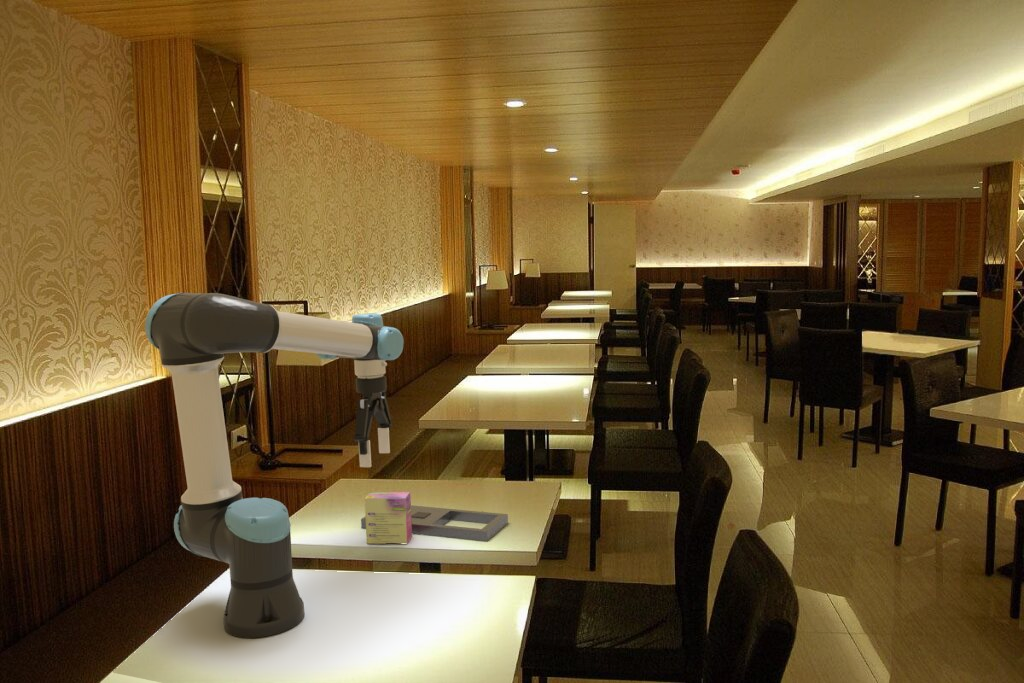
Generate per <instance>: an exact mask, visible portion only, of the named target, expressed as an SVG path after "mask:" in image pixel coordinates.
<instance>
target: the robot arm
mask: <svg viewBox="0 0 1024 683" xmlns="http://www.w3.org/2000/svg"><path fill="white" fill-rule="evenodd" d="M144 322H145V324H144V331H145V334H146V337H147V340H148V342H149V343H150V344H151V345H152V346H153V347H154V348H156V349H158V351H159V356H160V361H161V366H162V368H164V369H166V370H167V371H169V372H170V374H171V377H172V378H171V379H172V386H173V393H174V400H175V407H176V408H175V409H176V413H177V414H176V416H177V423H178V430H179V435H180V437H179V438H180V444H181V450H182V457H183V458H182V460H183V465H184V472H185V479H186V485H187V489H186V490H185V491H184V492H183V494H182V495H181V497H180V503H181V504H180V505H179V508H178V512H177V513H176V514H175V516H174V519H173V529H174V530H173V531H174V534H175V538H176V539H177V541H178V543H179V544H180V545H181V547H183V548H184V549H185V550H187V551H189V552H191V553H192V554H194V555H197V556H198V557H201V558H202V557H203V558H209V559H212V560H215V561H218V562H222V563H226V564H228V566H229V577H230V589H229V590H230V591H229V595H228V598H227V602H226V606H225V610H224V613H223V627H224V631H225V632H226V633H227V634H229V635H231V636H233V637H237V638H238V637H239V638H244V639H252V638H256V639H257V638H263V637H270V636H274V635H277V634H280V633H284V632H286V631H288V630H290V629H292V628H295V627H296V626H297V625H299V624H300V623H301V622H302V621H303V620H304V617H305V607H304V606H305V605H304V601H303V599H302V597H301V596H300V593H299V590H298V587H297V585H296V582H295V580H294V575H293V557H292V556H293V555H292V538H291V534H292V533H291V521H290V516H289V510H288V508H287V507H286V505H284V503H282V502H281V501H279V500H277V499H276V500H275V499H273V498H267V497H262V498H259V497H247V498H243V492H242V486H241V485H240V484H239V483H237V482H235V481H234V480H233V475H232V468H231V467H232V466H231V459H230V452H229V451H230V450H229V446H228V445H229V444H228V439H227V438H228V437H227V430H226V428H227V427H226V423H225V422H226V421H225V416H224V415H225V414H224V408H223V400H222V393H221V384H220V377H219V368H218V367H219V365H220V364H221V363H222V362H223V360H224V359H225V354H236V353H260V354H266V353H268V352H270V351H271V350H279V351H280V350H281V351H290V352H300V353H309V354H310V353H311V354H315V355H316V356H317V357H318V358H320V359H322V360H335V359H338V358H341V359H353V360H354V375H355V376H356V378H355V379H354V380H355V391H356V393H357V394H361V395H362V399H357V401H356V404H357V406H356V410H357V411H356V418H355V419H356V420H355V427H354V437H353V441H354V442H358V457H359V458H358V459H359V460H358V461H359V468H371V467H372V453H371V452H372V451H371V440H370V438H369V437H370V433H371V427H372V422H373V418H375V419H376V422H377V425H378V428H377V438H378V441H377V442H378V453H379V454H390V453H391V448H390V447H391V446H390V445H391V444H390V430H389V428H393V423H392V422H393V421H392V417H391V412H390V408H389V405H388V400H387V393H386V392H387V389H388V388H387V387H388V386H387V385H388V384H387V377H386V376H385V374H386V373H387V371H386V367H387V366H388V363H387V362H386V361H394V360H397V359H398V358H399V357H400V355H401V354H402V353H403V349H404V343H405V342H404V336H403V334H402V333H401V331H400V330H399V329H398V328H397V327H396V328H395V327H392V326H387V325H386V326H385V325H384V321H383V316H382V315H381V314H380V313H357V314H354V315H352V317H351V321H344V320H338V319H332V318H331V319H330V318H325V317H319V316H318V317H317V316H312V315H305V314H299V313H293V312H286V311H279V310H277V309H276V308H275V307H274V306H273V305H271V304H270V303H269V304H268V303H262V302H257V301H254V300H249V299H244V298H242V297H241V298H240V297H237V296H233V295H229V294H224V293H219V292H209V293H206V292H205V293H203V292H202V293H201V292H199V293H198V292H197V293H196V292H195V293H194V292H179V293H173V294H167V295H164V296H163V297H161V298H159V299H158V300H157V301H155V302H154V303H153V304H152V306H151V308H149V309H148V312H147V314H146V318H145V321H144Z"/></svg>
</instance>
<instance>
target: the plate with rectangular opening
mask: <svg viewBox="0 0 1024 683" xmlns="http://www.w3.org/2000/svg"><path fill="white" fill-rule="evenodd" d="M450 521H459V522H469V523H479V524H480V523H481V524H486V525H485V526H484V527H482V528H475V527H468V526H467V527H466V526H465V527H464V526H455V525H446V524H447V523H448V522H450ZM411 522H412V533H414V535H421V534H423V535H422V536H432V537H440V538H441V537H443V538H450V539H451V538H452V539H460V540H461V539H462V540H468V541H469V540H470V541H479V542H488V541H490V539H492V538H493V537H494V536H495V535H497V533H499V532H500V531H501V530H503V529H504V527H506V526H507V525H508V524H509V515H508V513H500V512H499V513H498V512H487V511H478V510H467V509H466V510H465V509H453V508H444V507H433V506H422V505H413V504H411ZM360 524H361V526H360V527H361V529H365V530H366V516H365V515H364V517H362V518H361V519H360Z"/></svg>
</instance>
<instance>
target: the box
mask: <svg viewBox="0 0 1024 683" xmlns="http://www.w3.org/2000/svg"><path fill="white" fill-rule="evenodd" d="M411 499H412V498H411V492H410V491H401V492H399V491H392V492H391V491H389V492H388V491H384V492H383V491H382V492H381V491H380V492H379V491H370V492H369V493H368V494H367V495H366V497H365V498H364V510H365V511H364V512H365V515H364V517H365V516H366V529H365V535H366V536H365V537H366V544H373V545H374V544H377V545H378V544H386V543H409V542H410V541H411V539H412V538H413V534H412V522H411V505H412V504H411V503H412V500H411ZM409 540H410V541H409Z"/></svg>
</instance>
